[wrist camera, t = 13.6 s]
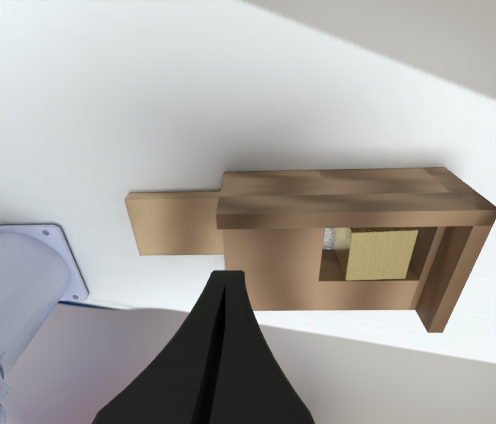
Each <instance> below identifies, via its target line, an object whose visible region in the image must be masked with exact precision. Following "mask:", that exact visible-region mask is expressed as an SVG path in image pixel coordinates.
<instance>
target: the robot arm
mask: <svg viewBox="0 0 496 424" xmlns="http://www.w3.org/2000/svg"><path fill="white" fill-rule="evenodd" d="M46 230H47V231H48V232H47V231H46ZM88 296H89V295H88V292H87V290H86V287H85V285H84V283H83V280H82V278H81V276H80V273H79V271H78V269H77V266H76V264H75V262H74V259H73V257H72V255H71V252H70V250H69V247H68V245H67V243H66V240H65V238H64V236H63V233H62V231H61V229H60V228H59V227H58V226H56V225H5V226H0V403H1V402H2V400H3V399H4V397H5V396H6V394H7V393H8V391H9V390H10V388H11V387H10V386H9V385H7V384H6V383H5V382H4V380H3V379H4V378H5V377H6V376H7V374H8V373H9V371H10V370H11V368H12V367H13V366H14V364H15V363H16V361H17V360H18V358H19V357H20V356H21V354H22V353H23V351H24V350H25V348H26V347H27V346H28V344H29V343H30V341H31V340H32V338H33V337H34V336H35V334H36V333H37V331H38V330H39V328H40V327H41V326H42V324H43V323H44V321H45V320H46V318H47V317H48V316H49V314H50V313H51V311H52V310H53V309H54V307H55V306H56V304H57V303H58V301H84V300H86V299H87V298H88ZM5 423H6V410H5V408H4V407H3V406H2V405H1V404H0V424H5ZM92 424H315V423H314V420H313V418H312V415H311V413H310V411H309V410H308V408H307V407H306V406H305V404H304V403H303V402H302V400H301V399H300V397H299V396H298V395H297V393H296V392H295V390H294V389H293V387H292V386H291V384H290V383H289V381H288V380H287V378H286V377H285V375H284V373H283V372H282V370H281V368H280V366H279V365H278V363H277V361H276V360H275V359H274V357H273V354H272V352H271V351H270V349H269V347H268V345H267V343H266V341H265V339H264V337H263V334H262V332H261V330H260V328H259V325H258V323H257V320H256V318H255V315H254V312H253V309H252V306H251V303H250V300H249V297H248V293H247V289H246V284H245V272H244V271H242V270H221V271H213V272H212V273H211V275H210V278H209V280H208V282H207V284H206V286H205V288H204V290H203V292H202V293H201V295H200V297H199V299H198V300H197V302H196V304H195V306H194V307H193V309H192V310H191V312H190V313H189V315H188V317H187V318H186V319H185V321H184V322H183V324H182V325H181V327H180V328H179V330H178V331H177V332H176V334H175V335H174V336H173V338H172V339H171V340H170V341H169V343H168V344H167V345H166V346H165V348H164V349H163V350H162V351H161V352H160V353H159V354H158V355H157V357H156V358H155V359H154V360H153V361H152V362H151V363H150V364H149V365H148V366H147V368H146V369H145V370H143V371H142V373H140V374H139V375H138V377H137V378H135V379H134V380H133V381H132V382H131V384H129V385H128V386H127V387H126V388H125V389H124V390H123V391H122V392H121V393H119V394H118V395H117V396H116V397H115V398H114V399H113V400H111V401H110V402H109V403H108V404H107V405H106V406H104V407H103V408H102V409H101V410H100V411H99V412H98V413H97V415H96V417H95V419H94V420H93V422H92Z"/></svg>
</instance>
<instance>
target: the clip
mask: <svg viewBox="0 0 496 424" xmlns="http://www.w3.org/2000/svg"><path fill="white" fill-rule="evenodd" d="M417 234H418V229H417V228H416V227H362V228H335V230H334V240H333V246H334V249H335V252H336V255H337V258H338V260H339V263H340V266H341V269H342V272H343V275H344V278H345V280H376V279H405V277H406V274H407V270H408V266H409V263H410V259H411V256H412V252H413V248H414V245H415V241H416V237H417Z"/></svg>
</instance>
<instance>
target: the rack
mask: <svg viewBox="0 0 496 424" xmlns="http://www.w3.org/2000/svg"><path fill="white" fill-rule="evenodd" d="M125 203H126V207H127V211H128V214H129V218H130V221H131V225H132V229H133V232H134V236H135V239H136V243H137V247H138V250H139V254H140V255H216V254H224V255H225V266H226V270H242V271H244V272H245V284H246V289H247V293H248V297H249V300H250V303H251V306H252V309H253V311H285V310H416V312H417V314H418V316H419V317H420V319H421V321H422V323H423V325H424V326H425V328H426V330H427V332H428V333H443V331H444V328H445V326H446V324H447V322H448V320H449V318H450V316H451V314H452V311H453V309H454V307H455V305H456V303H457V301H458V299H459V296H460V294H461V292H462V290H463V288H464V286H465V284H466V281H467V279H468V277H469V275H470V273H471V271H472V269H473V267H474V264H475V262H476V260H477V258H478V256H479V254H480V252H481V249H482V247H483V245H484V243H485V241H486V239H487V237H488V234H489V232H490V230H491V228H492V226H493V224H494V222H495V220H496V206H494V205H493V204H492V203H490V202H489V201H488V200H487V199H485V198H484V197H483V196H481V195H480V194H479V193H477V192H476V191H475V190H474V189H472V188H471V187H470V186H468V185H467V184H466V183H464V182H463V181H462V180H461V179H459V178H458V177H457V176H455V175H454V174H453V173H451V172H450V171H449V170H448V169H446V168H400V169H351V170H301V171H252V172H224V175H223V180H222V185H221V190H220V191H212V192H157V193H129V194H128V196H127V197H126V198H125ZM362 227H416V228H417V229H418V234H417V237H416V241H415V245H414V248H413V252H412V256H411V259H410V263H409V266H408V270H407V274H406V277H405V279H376V280H345V278H344V275H343V272H342V269H341V266H340V263H339V260H338V258H337V255H336V252H335V250H322V249H323V240H324V232H325V228H362Z"/></svg>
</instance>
